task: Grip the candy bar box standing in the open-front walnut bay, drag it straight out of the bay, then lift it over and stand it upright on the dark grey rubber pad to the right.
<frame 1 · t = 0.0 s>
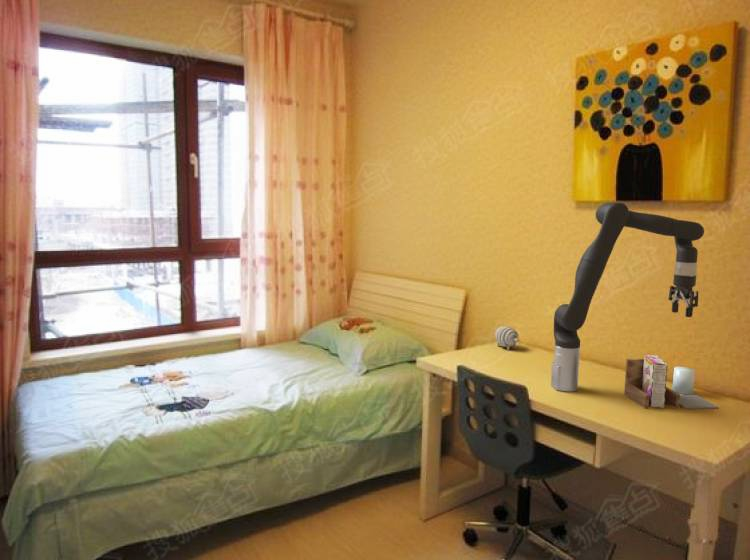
hand: (681, 314, 202), 29 cm above the table, fingers open, 8 cm apart
rubber pad: (690, 402, 189), on the table
toy sheep: (506, 348, 261), on the table
white rounded cylinder: (682, 391, 200), on the table
walnut bay: (651, 401, 190), on the table
candy bar box: (652, 402, 189), on the table
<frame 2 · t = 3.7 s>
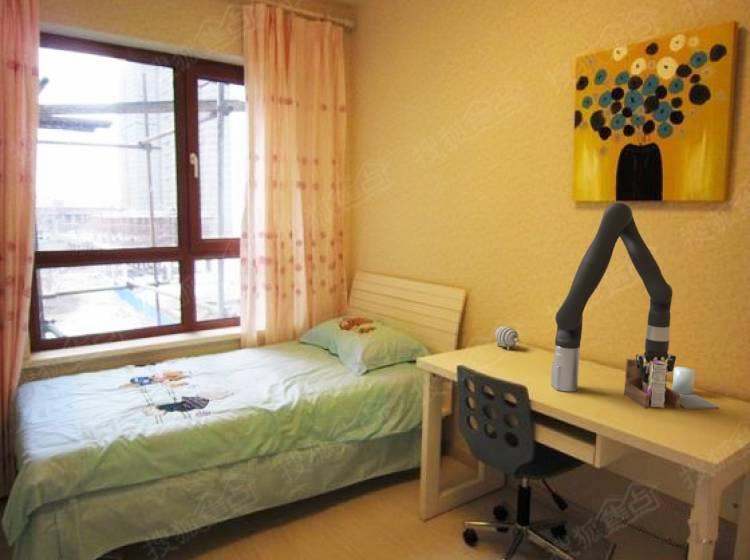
hand: (653, 382, 188), 8 cm above the table, fingers closed on candy bar box, 5 cm apart
candy bar box: (652, 402, 189), on the table, touching gripper
everything else where it was.
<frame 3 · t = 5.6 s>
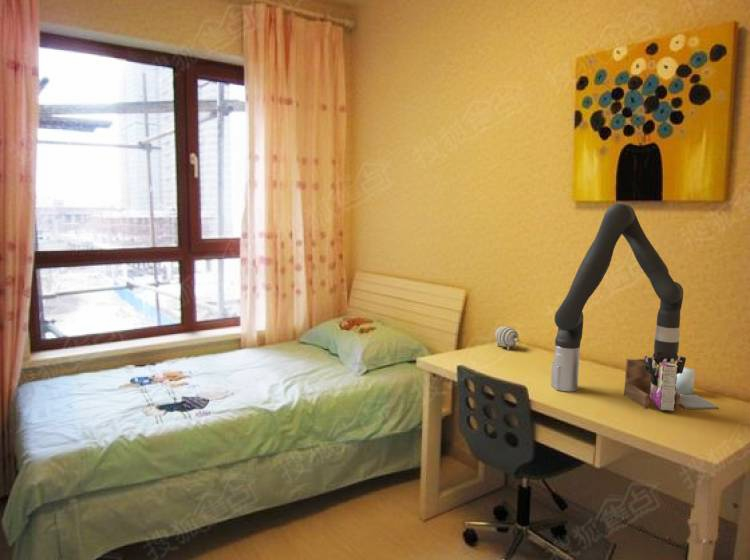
hand: (663, 384, 183), 9 cm above the table, fingers closed on candy bar box, 5 cm apart
candy bar box: (661, 405, 184), point 1 cm above the table, touching gripper
everything else where it was.
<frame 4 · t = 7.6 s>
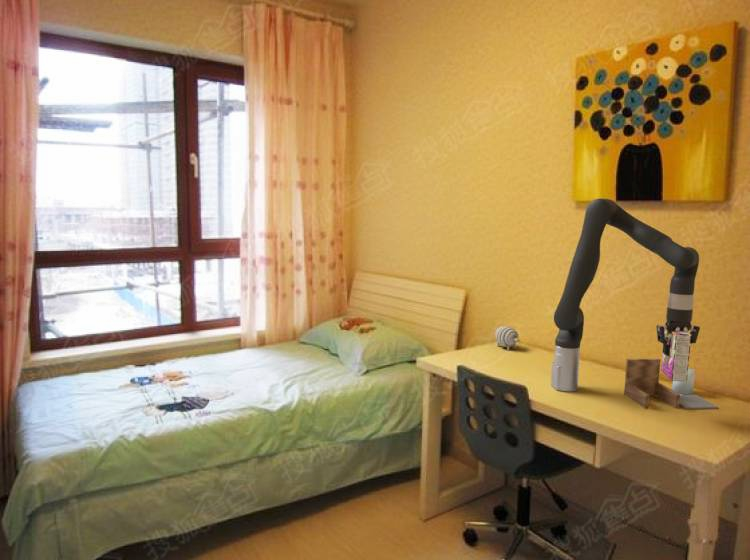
hand: (675, 354, 175), 21 cm above the table, fingers closed on candy bar box, 5 cm apart
candy bar box: (673, 376, 177), point 13 cm above the table, touching gripper
everything else where it was.
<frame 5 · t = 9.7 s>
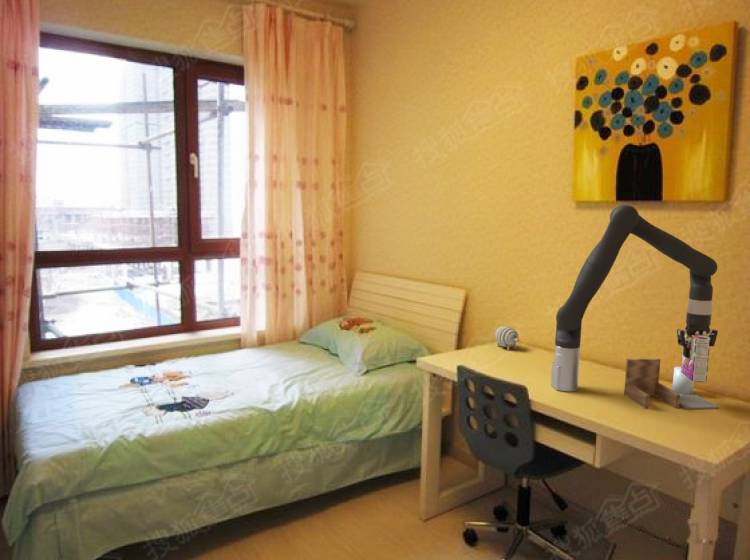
hand: (694, 357, 186), 17 cm above the table, fingers closed on candy bar box, 5 cm apart
candy bar box: (692, 377, 187), point 9 cm above the table, touching gripper
everything else where it was.
when the fingers open (9 cm above the table, at t = 11.6 s): candy bar box stays where it is, resting on rubber pad.
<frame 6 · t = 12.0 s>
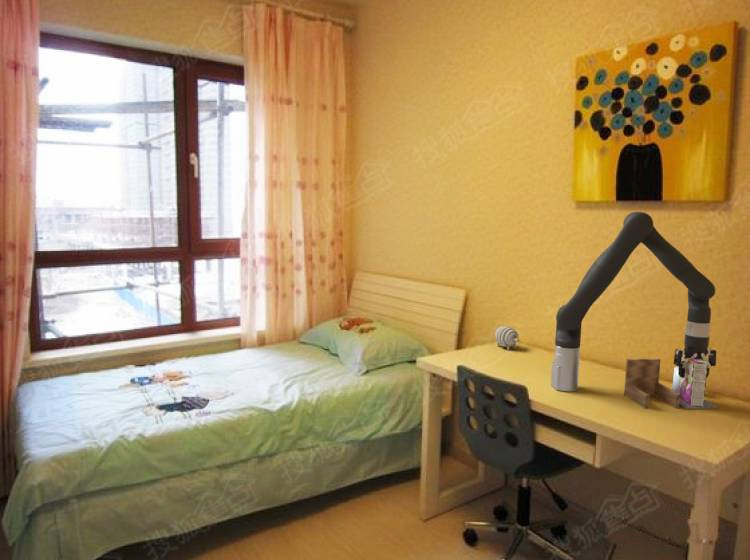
hand: (693, 377, 187), 10 cm above the table, fingers open, 8 cm apart
candy bar box: (690, 401, 189), resting on rubber pad
everything else where it was.
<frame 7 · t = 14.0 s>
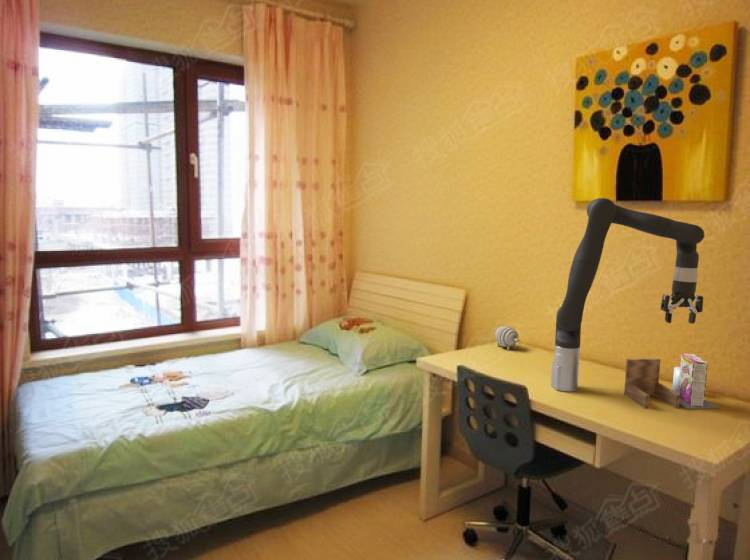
hand: (679, 322, 190), 29 cm above the table, fingers open, 8 cm apart
nothing on the table moved.
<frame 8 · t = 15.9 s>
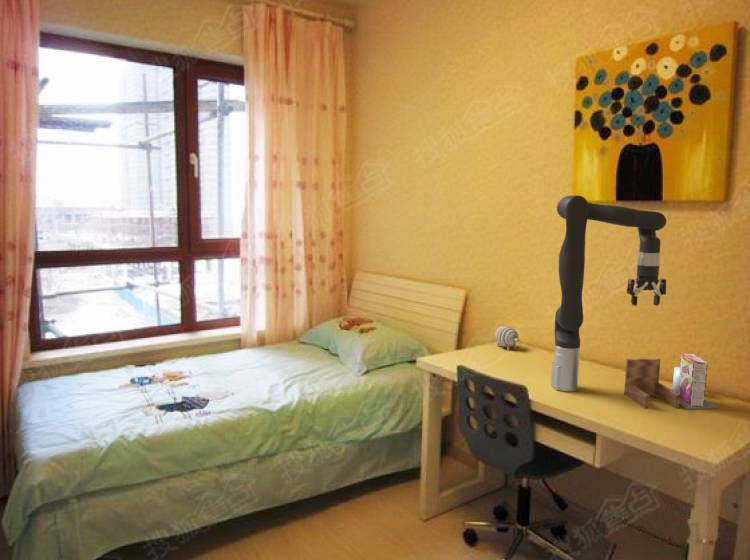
hand: (645, 305, 200), 33 cm above the table, fingers open, 8 cm apart
nothing on the table moved.
at the end: candy bar box inside the target area on the rubber pad (0.3 cm from its centre), point 0.4 cm above the rubber pad's base; candy bar box tilted 0°; the gripper is holding nothing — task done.
